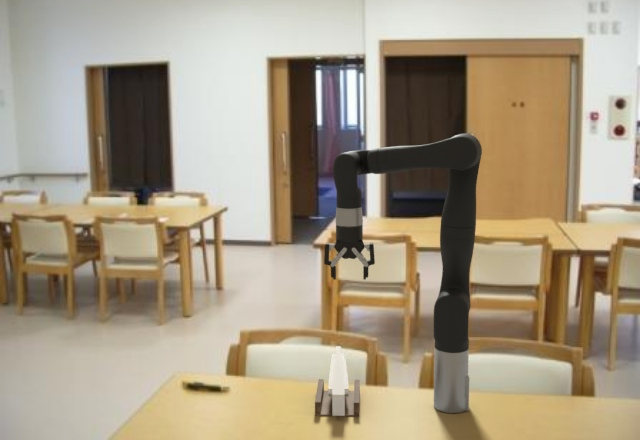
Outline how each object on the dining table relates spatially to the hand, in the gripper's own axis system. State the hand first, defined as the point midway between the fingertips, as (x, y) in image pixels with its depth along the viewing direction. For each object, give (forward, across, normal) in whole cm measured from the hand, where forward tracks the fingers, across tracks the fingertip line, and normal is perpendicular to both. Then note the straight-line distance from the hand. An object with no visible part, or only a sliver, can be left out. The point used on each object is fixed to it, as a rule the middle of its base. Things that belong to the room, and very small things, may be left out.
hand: (349, 279), depth 205 cm
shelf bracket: (+34, +3, +7) cm, 35 cm away
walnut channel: (+34, +3, +8) cm, 35 cm away
